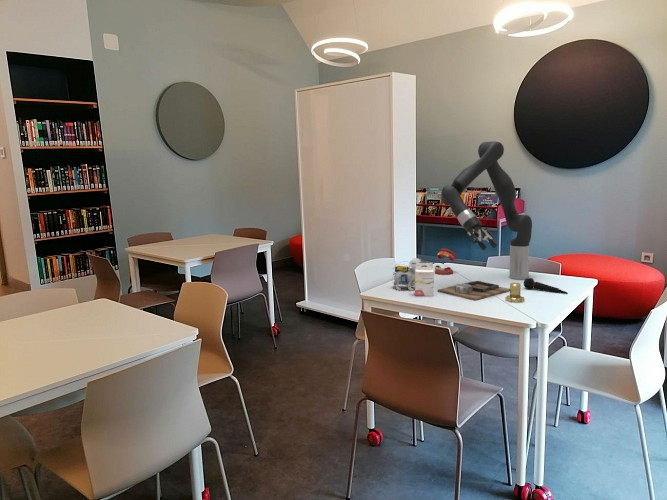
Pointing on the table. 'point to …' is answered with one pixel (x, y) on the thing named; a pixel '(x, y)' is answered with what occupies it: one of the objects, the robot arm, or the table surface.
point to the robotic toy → (406, 274)
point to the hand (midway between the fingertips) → (490, 248)
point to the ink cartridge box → (424, 279)
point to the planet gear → (515, 293)
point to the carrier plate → (474, 290)
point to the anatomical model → (443, 254)
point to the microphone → (541, 286)
